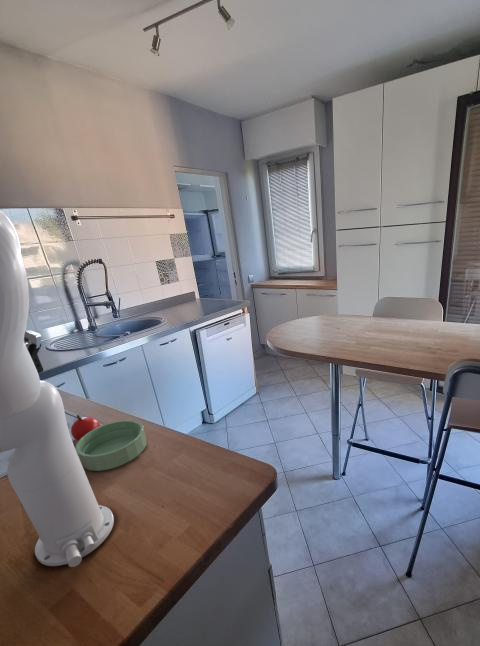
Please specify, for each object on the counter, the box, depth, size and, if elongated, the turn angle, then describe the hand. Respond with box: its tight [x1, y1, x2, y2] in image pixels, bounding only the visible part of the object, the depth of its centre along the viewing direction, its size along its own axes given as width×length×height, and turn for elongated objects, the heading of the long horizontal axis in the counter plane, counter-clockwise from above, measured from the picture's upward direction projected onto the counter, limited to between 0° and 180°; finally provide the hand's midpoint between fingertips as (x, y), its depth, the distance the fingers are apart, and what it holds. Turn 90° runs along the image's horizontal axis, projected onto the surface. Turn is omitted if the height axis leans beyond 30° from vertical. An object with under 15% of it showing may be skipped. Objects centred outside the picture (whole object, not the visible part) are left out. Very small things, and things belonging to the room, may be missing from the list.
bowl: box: [75, 419, 148, 472], centre depth 85 cm, size 15×15×5 cm
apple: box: [70, 414, 101, 442], centre depth 90 cm, size 7×7×8 cm
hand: (15, 374), depth 71 cm, fingers open, 9 cm apart
